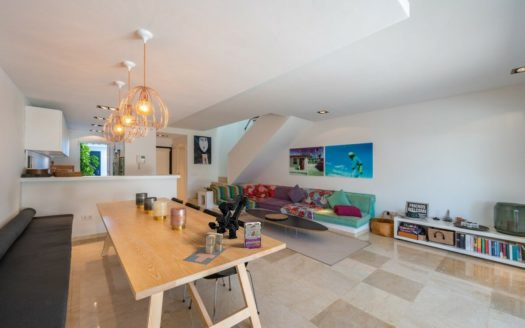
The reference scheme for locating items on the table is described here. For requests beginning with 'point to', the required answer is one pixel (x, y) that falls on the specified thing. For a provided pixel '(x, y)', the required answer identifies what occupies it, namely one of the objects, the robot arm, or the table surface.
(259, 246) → the candy bar box
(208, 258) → the slate board
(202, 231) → the table surface
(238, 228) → the robot arm
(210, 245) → the maple T block
